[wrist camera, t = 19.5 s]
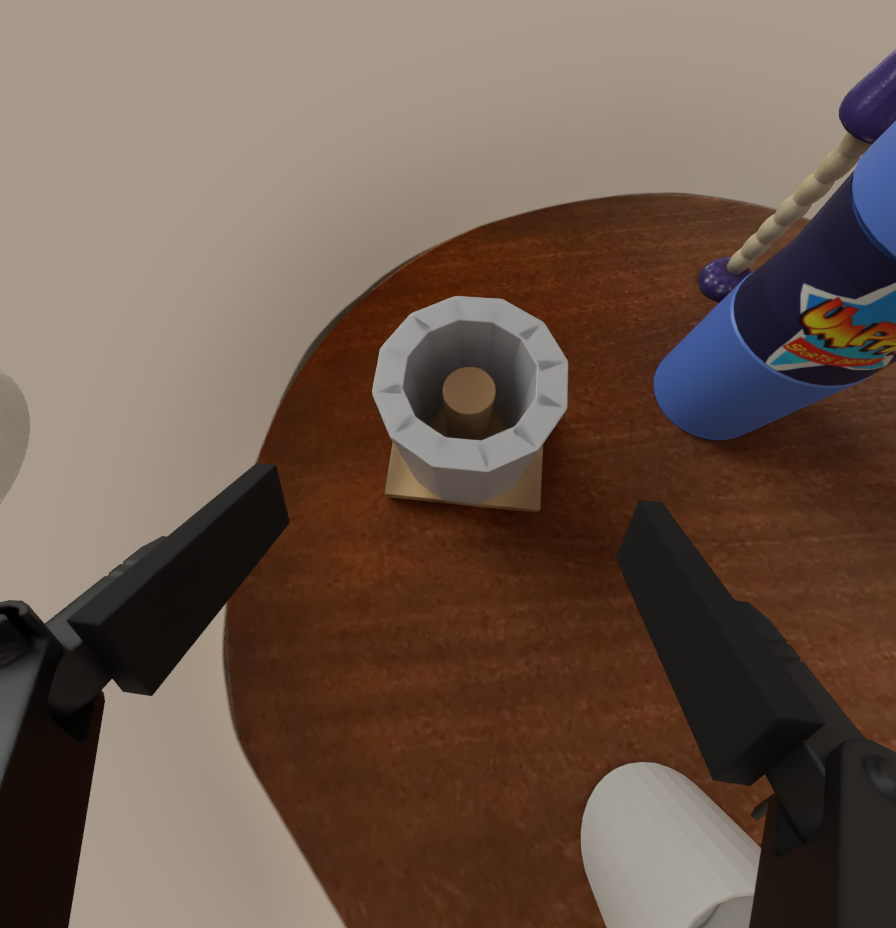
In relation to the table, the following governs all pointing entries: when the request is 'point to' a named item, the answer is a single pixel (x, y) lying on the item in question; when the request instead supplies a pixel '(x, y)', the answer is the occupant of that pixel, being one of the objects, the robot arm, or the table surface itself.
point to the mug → (665, 853)
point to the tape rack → (473, 420)
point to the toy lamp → (815, 175)
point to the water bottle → (797, 316)
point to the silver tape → (517, 399)
